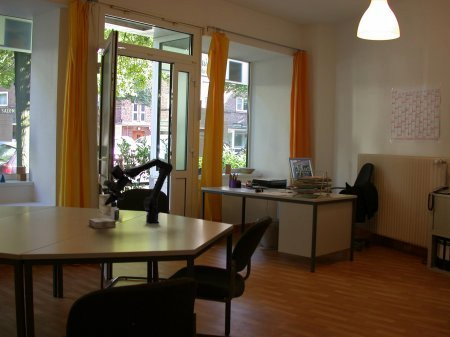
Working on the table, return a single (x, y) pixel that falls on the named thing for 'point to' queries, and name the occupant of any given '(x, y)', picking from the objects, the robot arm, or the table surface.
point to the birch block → (104, 209)
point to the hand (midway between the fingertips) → (103, 204)
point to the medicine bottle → (114, 212)
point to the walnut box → (102, 223)
